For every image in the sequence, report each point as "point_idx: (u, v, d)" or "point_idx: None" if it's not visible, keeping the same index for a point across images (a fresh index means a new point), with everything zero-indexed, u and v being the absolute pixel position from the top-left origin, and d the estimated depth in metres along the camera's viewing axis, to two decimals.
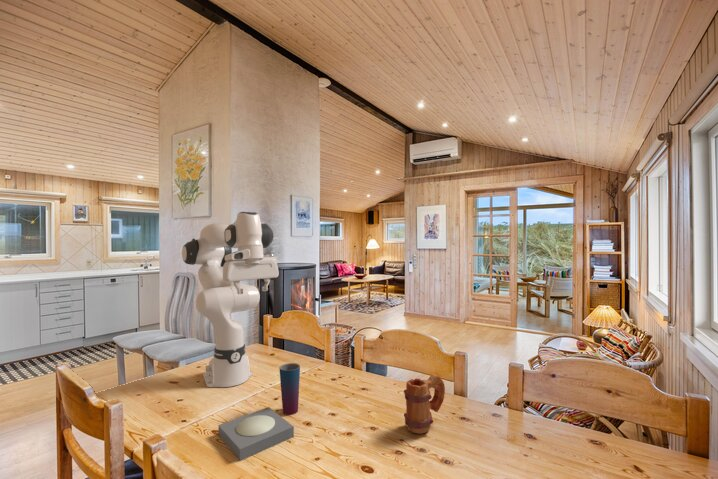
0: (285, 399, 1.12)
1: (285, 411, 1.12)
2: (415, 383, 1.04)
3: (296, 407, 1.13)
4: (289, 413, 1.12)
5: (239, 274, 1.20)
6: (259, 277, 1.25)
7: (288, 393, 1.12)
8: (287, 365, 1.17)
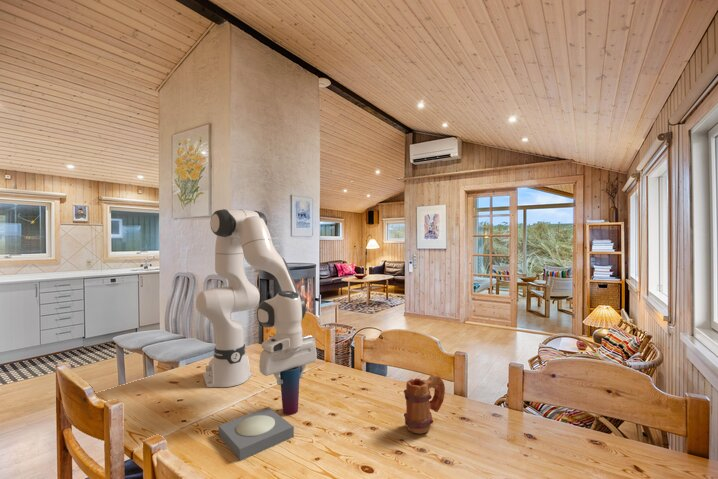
0: (285, 399, 1.12)
1: (285, 411, 1.12)
2: (415, 383, 1.04)
3: (296, 407, 1.13)
4: (289, 413, 1.12)
5: (277, 365, 1.10)
6: (297, 365, 1.15)
7: (288, 393, 1.12)
8: None
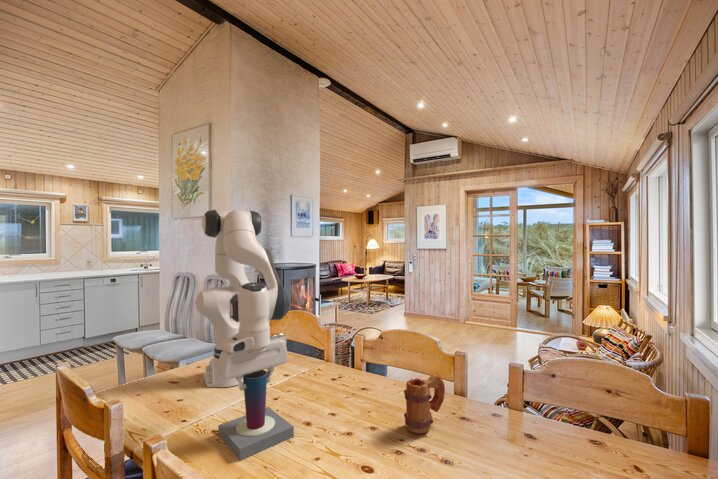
0: (249, 411, 0.98)
1: (249, 425, 0.98)
2: (415, 383, 1.04)
3: (262, 420, 0.99)
4: (254, 427, 0.98)
5: (239, 368, 0.95)
6: (264, 367, 1.00)
7: (252, 404, 0.97)
8: (253, 372, 1.03)
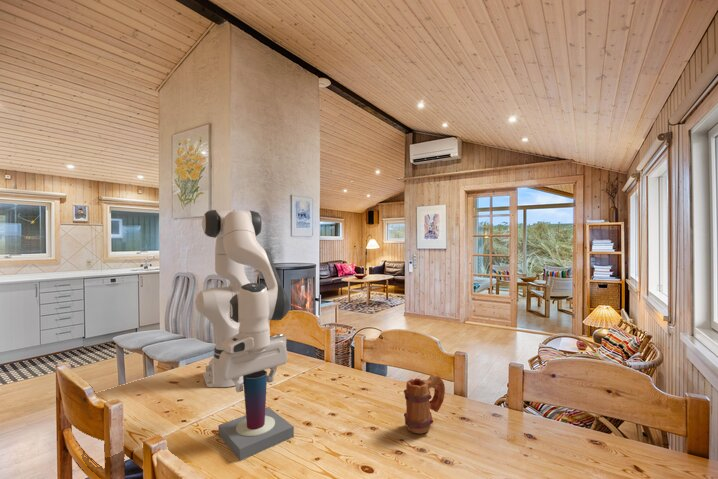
0: (249, 411, 0.98)
1: (249, 425, 0.98)
2: (415, 383, 1.04)
3: (262, 420, 0.99)
4: (254, 427, 0.98)
5: (239, 368, 0.95)
6: (264, 368, 1.00)
7: (252, 404, 0.97)
8: None
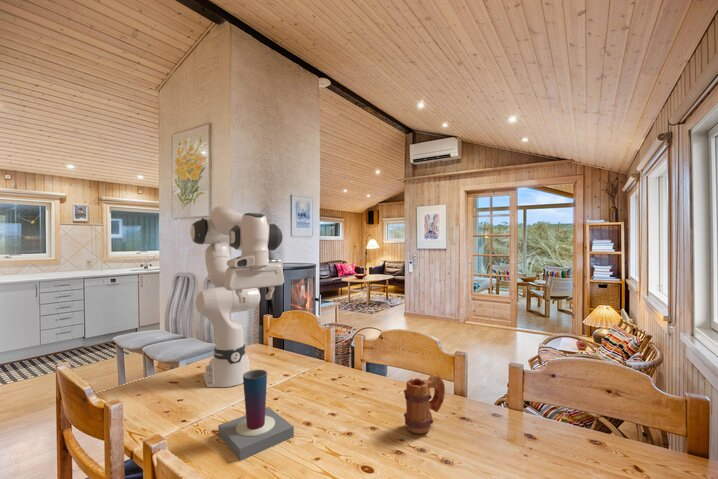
0: (249, 411, 0.98)
1: (249, 425, 0.98)
2: (415, 383, 1.04)
3: (262, 420, 0.99)
4: (254, 427, 0.98)
5: (242, 282, 1.11)
6: (263, 285, 1.16)
7: (252, 404, 0.97)
8: (253, 372, 1.03)
